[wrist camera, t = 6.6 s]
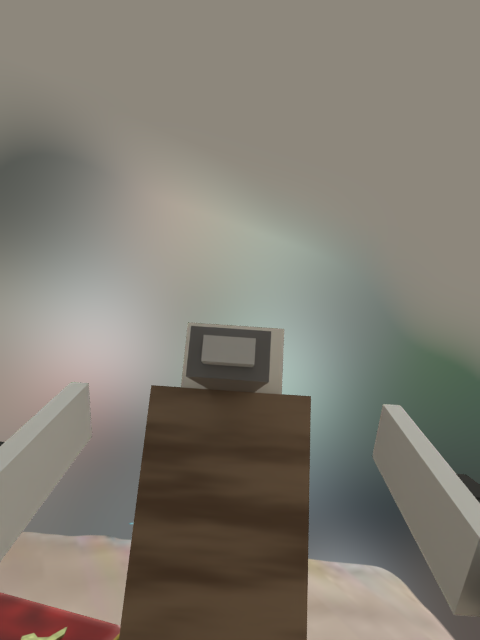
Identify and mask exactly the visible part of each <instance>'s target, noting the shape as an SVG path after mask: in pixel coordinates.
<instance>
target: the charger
mask: <svg viewBox="0 0 480 640" xmlns="http://www.w3.org/2000/svg"><path fill="white" fill-rule="evenodd" d="M283 345H284V329H277V328H262V327H247V326H233V325H219V324H203V323H189V322H188V328H187V337H186V346H185V355H184V365H183V373H182V383H181V387H183V388H197V389H211V390H226V391H240V392H255V393H269V394H282V372H283Z"/></svg>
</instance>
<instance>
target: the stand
mask: <svg viewBox="0 0 480 640" xmlns="http://www.w3.org/2000/svg"><path fill="white" fill-rule="evenodd" d="M310 407H311V396H297V395H282V394H269V393H255V392H240V391H226V390H211V389H197V388H183V387H167V386H151V394H150V401H149V409H148V416H147V425H146V432H145V440H144V448H143V456H142V463H141V471H140V479H139V487H138V494H137V503H136V510H135V518H134V526H133V533H132V541H131V549H130V557H129V565H128V572H127V580H126V588H125V596H124V604H123V611H122V619H121V627H120V635H119V640H307V588H308V529H309V469H310V412H311V411H310V410H311V408H310Z"/></svg>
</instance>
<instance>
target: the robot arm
mask: <svg viewBox="0 0 480 640" xmlns="http://www.w3.org/2000/svg"><path fill="white" fill-rule="evenodd" d="M91 437H92V427H91V413H90V398H89V384H88V383H77V382H71V383H70V384H69V385H68V386H67V387H65V388H64V389H63V390H62V391H61V392H60V393H59V394H58V395H57V396H56V397H54V398H53V399H52V400H51V401H50V402H49V403H48V404H47V405H46V406H44V407H43V408H42V409H41V410H40V411H39V412H38V413H37V414H36V415H34V416H33V417H32V418H31V419H30V420H29V421H28V422H27V423H26V424H25V425H24V426H22V427H21V428H20V429H19V430H18V431H17V432H16V433H15V434H13V435H12V436H11V437H10V438H9V439H8V440H7V441H6V442H0V562H1V560H2V559H3V557H4V556H5V555H6V553H7V552H8V551H9V549H10V548H11V547H12V545H13V544H14V542H15V541H16V540H17V538H18V537H19V536H20V534H21V533H22V532H23V530H24V529H25V527H26V526H27V525H28V523H29V522H30V521H31V519H32V518H33V517H34V515H35V514H36V512H37V511H38V510H39V508H40V507H41V506H42V504H43V503H44V502H45V500H46V499H47V497H48V496H49V495H50V493H51V492H52V491H53V489H54V488H55V486H56V485H57V484H58V482H59V481H60V480H61V478H62V477H63V476H64V474H65V473H66V471H67V470H68V469H69V467H70V466H71V465H72V463H73V462H74V461H75V459H76V458H77V456H78V455H79V454H80V452H81V451H82V450H83V448H84V447H85V446H86V444H87V443H88V441H89V440H90V439H91ZM372 457H373V459H374V461H375V463H376V465H377V467H378V469H379V471H380V473H381V474H382V477H383V478H384V480H385V482H386V484H387V486H388V488H389V490H390V491H391V494H392V496H393V498H394V500H395V502H396V504H397V505H398V508H399V509H400V511H401V513H402V515H403V517H404V519H405V521H406V523H407V525H408V527H409V529H410V531H411V533H412V535H413V537H414V538H415V540H416V542H417V544H418V546H419V548H420V550H421V552H422V554H423V556H424V558H425V559H426V562H427V564H428V566H429V567H430V570H431V571H432V573H433V575H434V577H435V579H436V581H437V583H438V585H439V587H440V589H441V591H442V593H443V594H444V597H445V599H446V601H447V602H448V604H449V606H450V608H451V610H452V612H453V614H454V615H463V616H476V617H480V484H478V483H477V482H475V481H474V480H473V479H471V478H470V477H469V476H467V475H464V474H456V473H455V472H454V471H453V470H452V468H451V467H450V466H449V465H448V464H447V462H446V461H445V460H444V459H443V457H442V456H441V455H440V454H439V452H438V451H437V450H436V449H435V447H434V446H433V445H432V444H431V443H430V441H429V440H428V439H427V438H426V436H425V435H424V434H423V433H422V431H421V430H420V429H419V428H418V426H417V425H416V424H415V423H414V422H413V420H412V419H411V418H410V417H409V415H408V414H407V413H406V412H405V411H404V409H403V408H402V407H401V406H400V405H388V404H383V406H382V411H381V416H380V422H379V426H378V431H377V437H376V441H375V446H374V451H373V456H372Z"/></svg>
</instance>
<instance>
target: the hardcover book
mask: <svg viewBox="0 0 480 640" xmlns="http://www.w3.org/2000/svg"><path fill="white" fill-rule="evenodd" d="M120 627H121V626H119V625H116V624H112V623H108V622H105V621H101V620H98V619H94V618H90V617H87V616H83V615H80V614H76V613H72V612H69V611H65V610H62V609H58V608H54V607H51V606H47V605H43V604H40V603H36V602H33V601H29V600H25V599H22V598H18V597H15V596H11V595H7V594H4V593H0V640H119V635H120Z"/></svg>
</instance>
